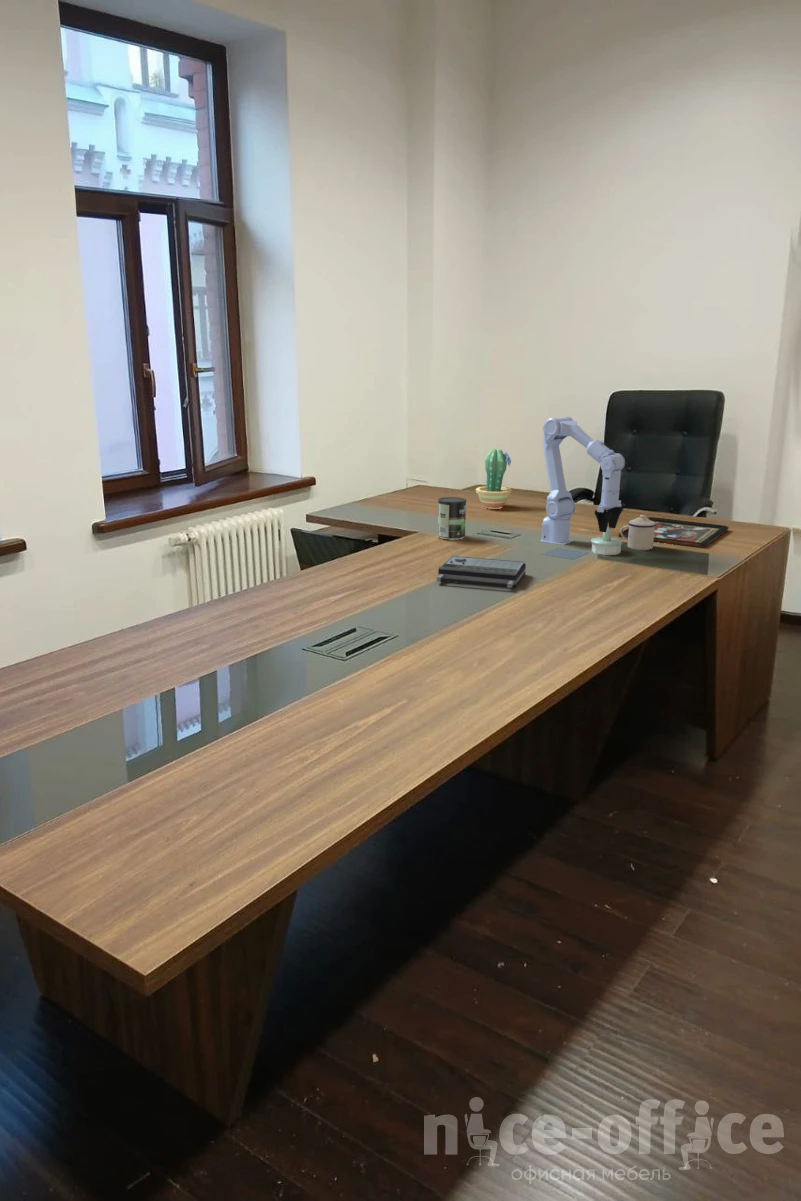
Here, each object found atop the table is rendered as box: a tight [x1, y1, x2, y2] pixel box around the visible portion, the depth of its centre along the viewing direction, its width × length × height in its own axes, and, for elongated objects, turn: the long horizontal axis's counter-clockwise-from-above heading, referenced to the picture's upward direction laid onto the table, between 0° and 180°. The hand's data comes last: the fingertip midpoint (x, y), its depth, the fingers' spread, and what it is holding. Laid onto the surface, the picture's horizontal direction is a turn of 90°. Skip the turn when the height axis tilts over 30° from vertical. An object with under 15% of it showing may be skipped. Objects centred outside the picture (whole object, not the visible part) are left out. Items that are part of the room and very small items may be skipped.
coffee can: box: [437, 496, 467, 539], centre depth 326 cm, size 10×10×14 cm
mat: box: [541, 547, 590, 560], centre depth 304 cm, size 12×12×1 cm
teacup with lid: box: [619, 514, 655, 551], centre depth 313 cm, size 12×9×12 cm
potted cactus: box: [475, 448, 513, 508], centre depth 379 cm, size 15×15×25 cm
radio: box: [436, 555, 527, 589], centre depth 273 cm, size 24×5×20 cm
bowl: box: [591, 543, 622, 556], centre depth 306 cm, size 9×9×4 cm
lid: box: [590, 527, 623, 546], centre depth 305 cm, size 10×10×5 cm
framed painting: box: [618, 516, 729, 549], centre depth 335 cm, size 38×35×3 cm
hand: (607, 529), depth 304 cm, fingers open, 7 cm apart
